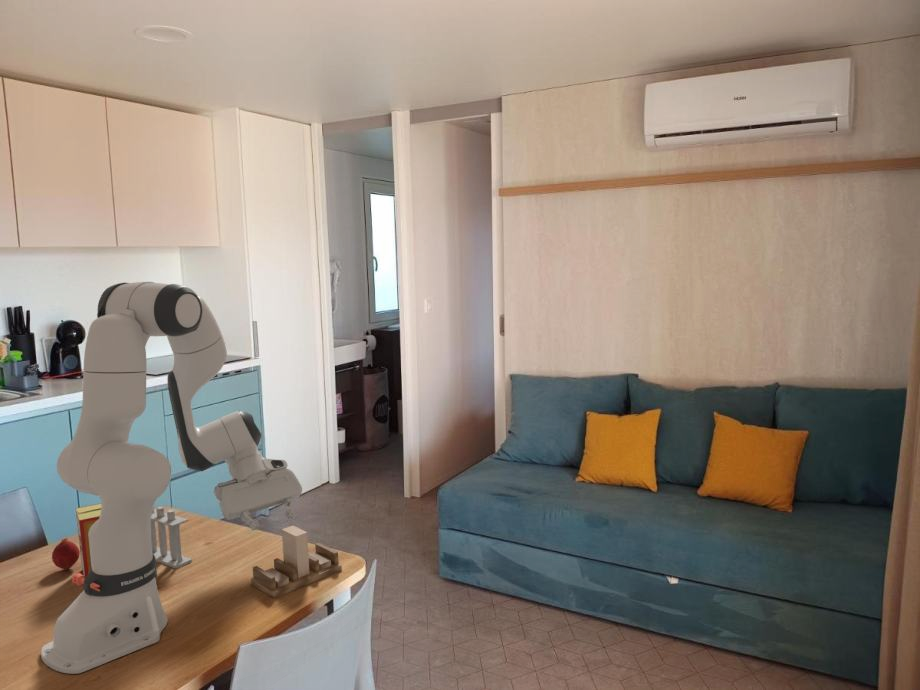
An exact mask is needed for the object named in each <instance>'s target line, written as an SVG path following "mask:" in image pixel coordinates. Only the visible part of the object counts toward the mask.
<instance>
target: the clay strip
mask: <svg viewBox="0 0 920 690" xmlns="http://www.w3.org/2000/svg"><path fill="white" fill-rule="evenodd" d="M281 537H282V539H281V540H282V554H283V557H282V558H283V561H284V562H286V563H287V564H289V565H291V566H293V567H295V568H296V570H297V578H300V577H302V576H305V575H307V574H310V572H309V555H308V554H309V543H308V539H309V537H308V532H307V531H305V530H303V529H302V528H300V527H297V526H295V525H291V526H287V527H284V528H282V529H281Z"/></svg>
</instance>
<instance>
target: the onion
mask: <svg viewBox="0 0 920 690" xmlns="http://www.w3.org/2000/svg"><path fill="white" fill-rule="evenodd" d="M80 556H81V555H80V547H78V545H77V544H76V543H74V542H72V541H69V540H68V537H65V536H64V537H63V538H62V539H61V541H60V543H58V544H57V545H56V546H55V547H54V549H53V551H52V554H51V560H52V562H53V564H54V565H55V567H57V568H60V569H62V570H65V569H68V570H70V569H71V568H72V567H73V566H74V565H75V564H76V563H77V562H78V560H79V558H80ZM69 568H70V569H69Z"/></svg>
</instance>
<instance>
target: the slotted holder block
mask: <svg viewBox="0 0 920 690" xmlns="http://www.w3.org/2000/svg"><path fill="white" fill-rule="evenodd" d="M308 555H309V572H310V574H307V575H305V576H302V577H300V578H297V570H296V568H295V567H293V566H291V565H289V564H287V563H286V562H284V560H282V559H280V558H278V557H276V558H275V559H273V567H274V568H273V567H271V568H268V569H266V570H265V569H263V568H261V567H260V566H257V565H256V566H253V567H252V575H253V576H252V577H251V578H250V583H251V585H253V586H254V587H256V588H257V589H258V590H260V589H261V590H260V591H263V592H264V593H265V594H266V595H269V596H270V597H271V598H273V599H276V598H278V597H281V596H283V595H286V594H287V593H290V592H293V591H295V590H297V589H299V588H302V587H304V586H307V585H310V584H312V583H313V582H316V581H318V580H321V579H324V578H325V577H328V576H331V575H333V574H336V573H338V572H339V571H342V570H343V568H342V567H343V566H342V564H340V562H339V551H337V550H334V549H333V548H331V547H328V546H327V545H324V544H322V543H321V542H317V543H315V551H312V552H309V553H308Z"/></svg>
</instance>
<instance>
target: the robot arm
mask: <svg viewBox="0 0 920 690" xmlns="http://www.w3.org/2000/svg"><path fill="white" fill-rule="evenodd" d="M96 317H97V318H95V319H94V320H93V321H92V322H91V324H90V326H89V329H88V333H87V335H86V336H87V337H86V342H85V349H84V356H83V371H82V372H83V374H82V378H83V379H82V404H81V405H82V406H81V413H80V417H79V422H78V424H77V427H76V430H75V433H74V435H73V437H72V439H71V441H70V442H69V443H68V444H67V445H66V446H65V447H64V448H63V449H62V451H61V452H60V453H59V456H58V458H57V462H56V463H57V464H56V471H57V474H58V476H59V478H60V479H61V480H62V482H64V483H65V484H66V485H67V486H70V487H71V488H72V489H74V490H76V491H78V492H80V493H84V494H90V495H93V496H98V497H99V499H100V503H102V506H101V513H100V517H99V520H97V521H96V522H95V523H94V524H93V525H92V526H91V528H90V530H89V533H88V537H89V547H90V557H91V568H90V570H89V573H88V575H87V577H86V576H84V575H83V573H82V574H81V573H79V572H77V573H74V574H73V576H72V578H71V581H72V583H73V584H74V585H77V586H79V587H81V586H83V590H82V591H81V592H80V594H79V595H78V596H77V597H76V598H75V599H74V600H73V602H71V604H69V606H68V607H67V608H66V609H65V610H64V611H63V612H62V613H61V614H60V615H59V616H58V617H57V619H56V621H55V623H54V628H53V637H52V638H53V639H52V641H50V642H48V643H45V645H43V646H42V647H41V651H40V656H41V657H40V658H41V661H42V662H43V664H45V665H46V666H48V667H49V668H50V669H52V670H54V671H56V672H58V673H59V672H60V673H63V674H73V675H75V674H77V675H78V674H81V673H83V672H87V671H90V670H91V669H94V668H97V667H99V666H101V665H103V664H107V663H108V662H111V661H113V660H116V659H118V658H121V657H124V656H126V655H128V654H131V653H133V652H136V651H138V650H141V649H143V648H144V649H145V647H148V646H151V645H153V644H155V643H157V642H159V641H160V638H161V633H162V631H163V630H164V628H165V627H166V626H167V623H168V616H167V614H166V613H165V610H164V608H163V605H162V601H161V598H160V595H159V591H158V586H157V579H158V578H157V577H158V573H157V572H158V571H157V570H158V569H157V561H155V556H154V555H153V554H152V540H151V516H152V511H153V507H155V504H156V502H157V500H158V499H159V498H160V497H161V496H162V495H163V494H164V493H165V492H166V491H167V488H168V487H169V484H170V483H171V479H172V465H171V462H170V460H169V459H168V458H167V456H166V455H164V454H163V453H161V452H160V451H158V450H155V449H154V448H152V447H150V446H147V445H144V444H138V443H131V442H129V437H130V432H131V430H132V429H131V428H132V426H133V424H134V422H135V420H136V419H137V418H140V417H141V416H142V414H144V412H145V409H146V407H147V349H146V347H147V343H148V340H149V339H150V337H166V339H167V340H168V344H169V345H170V349H171V351H172V354H173V359H174V361H173V366H172V370H171V371H170V372H169V373H168V374H167V379H166V380H167V389H168V395H169V399H170V404H171V409H172V414H173V419H174V420H173V421H174V424H175V429H176V432H177V440H178V442H177V444H178V452H179V453H178V454H179V456H180V457H179V458H180V459H181V460H182V461H181V462H183V464H184V465H185V467H186V468H188V469H190V470H193V471H197V472H205V471H206V470H208V469H210V468H212V467H213V466H215V465H216V464H218V463H220V462H222V461H224V462H225V463H226V464H227V466H228V468H227V469H228V472H229V475H230V476H231V479H230V480H228V481H227V480H226V481H224V482H219V483H218V484H217V485H216V486H215V487H214V489H213V493H214V496H215V498H216V499H217V500H218V501H219V503H218V504H219V506H220V507H219V508H220V510H221V513H222V516H223V518H224V519H226V520H228V521H231V520H234V519H238V518H240V519H241V521H242V522H244V523H245V524H247V525H249V528H250V529H251V531H256V530H259V528H260V526H261V525H260V523H259V521H258V519H253V518H252V517H251V516H250V515H251V514H253V513H254V514H255V513H257V512H259V511H260V512H261V511H264V510H267V509H271V508H273V507H276V506H277V507H278V506H280V505H284V506H285V507H287V510H286V511H285V513H284V515H285V517H286V519H287V520H289V519H292V518H294V517H295V515H296V513H295V511H294V509H293V508H294V501H295V500H298V499H299V498H300V496H301V495H302V493H303V487H302V484H301V483H300V481H299V479H298V477H297V476H296V474H295V472H294V471H292V470H291V469H289V468H288V463H287V461H286V459H275V458H265V457H264V455H262V453H261V452H260V451H259V449H258V446H259V444H260V442H261V438H262V433H261V431H260V430H259V428H258V426H257V424H256V423H255V419H254V417H253V415H252V414H251V413H249V412H247V411H243V410H236V411H233V412H231V413H228V414H226V415H224V416H221V417H219V418H218V419H215V420H212V421H211V422H208V423H206V424H203V425H201V426H196V425H195V420H194V419H195V418H194V416H193V415H194V414H193V411H192V400H193V398H194V396H195V395H196V394H197V393H198V392H199V390H200V389H201V388H203V387H204V386H206V384H207V383H208V382H210V381H211V380H213V379H214V378H215V376H216V375H218V373H220V371H221V370H222V369H223V367H224V365H225V363H226V361H227V360H226V359H227V355H228V352H227V346H226V342H225V339H224V337H223V336H224V335H223V334H222V332H221V328H220V326H219V324H218V322H217V320H216V318H215V316H214V314H213V312H212V311H211V308H210V307H209V306H208V304H207V303H206V301H205V300H204V298H202V297H201V296H200V295H197V293H196V292H195V291H194V290H192V288H190V287H188V286H185V285H181V284H178V283H170V284H167V283H160V282H153V281H141V282H140V281H136V282H120V283H115V284H113V285H111V286H109V287H106V289H105V290H104V291H103V292H102V293H101V295H100V298H99V300H98V303H97V314H96Z"/></svg>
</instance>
